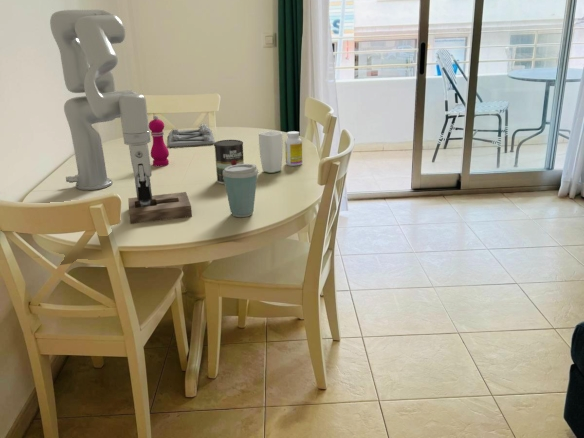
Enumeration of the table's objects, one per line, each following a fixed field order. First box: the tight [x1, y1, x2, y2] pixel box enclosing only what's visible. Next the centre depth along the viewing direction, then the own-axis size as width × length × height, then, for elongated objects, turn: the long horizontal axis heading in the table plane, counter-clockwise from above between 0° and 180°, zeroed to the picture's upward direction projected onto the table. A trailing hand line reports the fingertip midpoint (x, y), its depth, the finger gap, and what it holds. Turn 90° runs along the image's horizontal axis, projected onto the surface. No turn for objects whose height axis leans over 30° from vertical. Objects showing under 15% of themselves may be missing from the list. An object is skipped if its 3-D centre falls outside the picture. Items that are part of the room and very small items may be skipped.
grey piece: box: [167, 123, 216, 149], centre depth 262 cm, size 30×22×7 cm
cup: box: [258, 130, 284, 174], centre depth 204 cm, size 7×7×15 cm
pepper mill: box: [148, 115, 170, 167], centre depth 217 cm, size 7×7×20 cm
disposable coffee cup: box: [222, 163, 260, 218], centre depth 161 cm, size 11×11×15 cm
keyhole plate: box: [128, 191, 193, 225], centre depth 166 cm, size 18×14×4 cm
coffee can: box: [213, 139, 245, 185], centre depth 195 cm, size 10×10×14 cm
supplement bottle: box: [284, 130, 303, 167], centre depth 214 cm, size 7×7×13 cm
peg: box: [133, 174, 153, 207], centre depth 163 cm, size 5×5×13 cm
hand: (144, 196), depth 164 cm, fingers closed on peg, 4 cm apart
